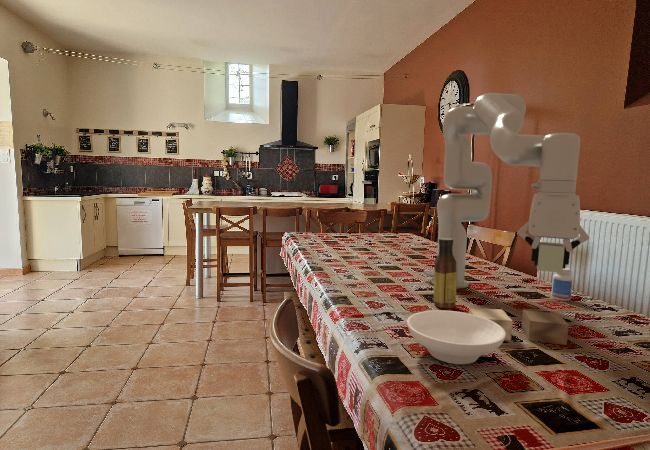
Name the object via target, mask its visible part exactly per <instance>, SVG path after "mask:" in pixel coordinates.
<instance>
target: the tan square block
mask: <svg viewBox="0 0 650 450" xmlns="http://www.w3.org/2000/svg"><path fill="white" fill-rule="evenodd" d="M521 315H522V316H521V317H522V319H521V328H522V329H521V328H520V329H521V330H522V331H523V334H524V335H526V336H525V337H526V339H527V340H532V341H531V342H537V341H540V342H539V343H546V342H548V343H547V344H554V343H555V344H556V345H565V346H567V344H568V343H567V342H568V334H569V327H570V325H569V323H568V322H567V321H566V320H565V319H564V318H563V317H562V316H561V314H560V313H558V312H549V311H536V310H527V309H522V314H521Z"/></svg>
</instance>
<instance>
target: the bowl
mask: <svg viewBox="0 0 650 450" xmlns="http://www.w3.org/2000/svg"><path fill="white" fill-rule="evenodd" d="M406 325H407V328H408V331H409V333H410V335H411V336H412V338H413V339H414V340H415V341H416V342H417V343H418V344H419V345H420V346H424V348H426V349H427V351H428V352H429V354H430V355H431V356H432V357H433V358H435V359H437V360H439V361H442V362H445V363H448V364H454V365H467V364H472V363H475V362H476V361H477V360H478V359H479V358H480V357H482V356H485V355H490V354H491V353H493V352H495V351H496V350H497V349H499V348H500V346H501V345H503V343H504V341H505V340H504V339H505V335H506V333H505V330H504V329H503V328H502V327H501V326H499V325H498V324H497V323H495V322H493V321H491V320H488V319H486V318H483V317H480V316H477V315H473V314H469V312H462V311H455V310H454V311H453V310H441V309H439V310H437V309H436V310H435V309H433V310H423V311H420V312H416V313H413V314H411V315H410V316H409V317H408V318H407V319H406Z"/></svg>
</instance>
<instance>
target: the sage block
mask: <svg viewBox="0 0 650 450" xmlns="http://www.w3.org/2000/svg"><path fill="white" fill-rule="evenodd" d="M538 246H539V247H538V248H539V256H538V265H537V266H536V270H537V271H540V272H541V271H542V272H549V273H550V272H551V273H557V272H558V273H562V269H563V259H564V249H565V246H564V243H561V242H560V243H559V242H557V243H556V242H547V241H540V242H539V244H538Z"/></svg>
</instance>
